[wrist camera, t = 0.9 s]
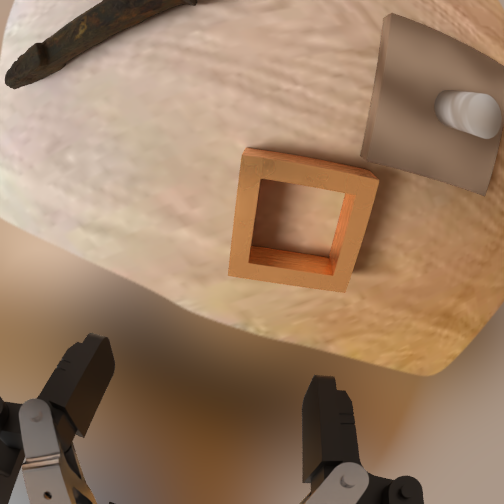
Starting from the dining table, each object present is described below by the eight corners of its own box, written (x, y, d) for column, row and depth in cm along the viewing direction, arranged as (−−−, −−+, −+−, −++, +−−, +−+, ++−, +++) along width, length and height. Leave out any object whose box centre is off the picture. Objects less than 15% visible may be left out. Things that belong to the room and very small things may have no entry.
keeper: (383, 18, 17) (418, -4, 11) (498, 70, 17) (548, 74, 11) (360, 155, 23) (387, 179, 17) (473, 188, 23) (517, 219, 17)
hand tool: (192, -30, 16) (174, -51, 12) (203, 6, 18) (186, -10, 14) (23, 61, 20) (-9, 64, 16) (29, 94, 22) (-2, 100, 18)
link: (246, 147, 24) (241, 154, 21) (368, 169, 23) (379, 180, 21) (232, 257, 28) (227, 275, 26) (339, 273, 28) (345, 292, 26)
